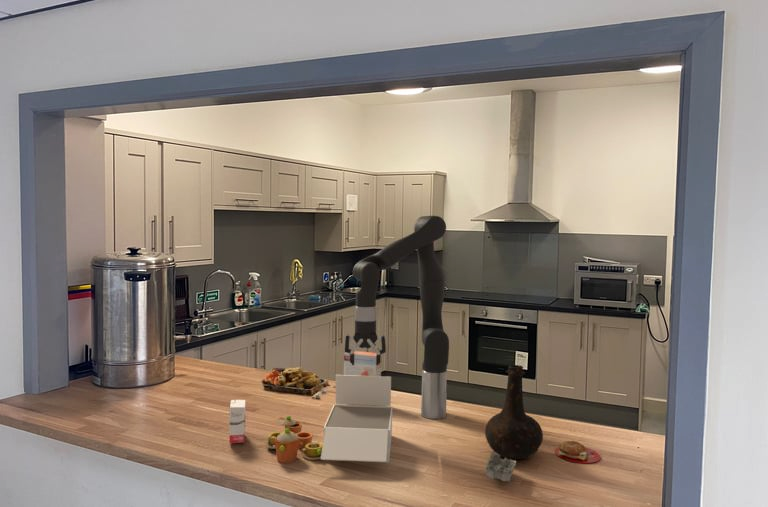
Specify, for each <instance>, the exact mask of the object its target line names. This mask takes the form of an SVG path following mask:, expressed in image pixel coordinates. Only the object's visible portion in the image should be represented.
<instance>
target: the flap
mask: <svg viewBox="0 0 768 507" xmlns="http://www.w3.org/2000/svg"><path fill="white" fill-rule="evenodd" d="M334 386H335V387H334V388H335V405H351V404H354V405H379V406H390V407H392V406H391V405H392V404H391V403H392V401H391V400H392V376H387V375H386V376H385V375H384V376H382V375H381V376H368V372H367V371H362V373H361V376H358V375H344V374H335V384H334Z"/></svg>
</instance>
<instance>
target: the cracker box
mask: <svg viewBox="0 0 768 507" xmlns="http://www.w3.org/2000/svg"><path fill="white" fill-rule="evenodd" d="M354 353H355V360H354V365H352V363H350V354H349V353H346V352H345V351H344V354H343V375H358V376H361V373H362V371H367V372H368V376H382V361H381V362H380V364H379V365H376V355H377V353H376V352H369V351H368V352H367V351H358V350H356V351H355V352H354ZM350 405H354V404H350ZM363 406H380V405H363Z"/></svg>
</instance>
